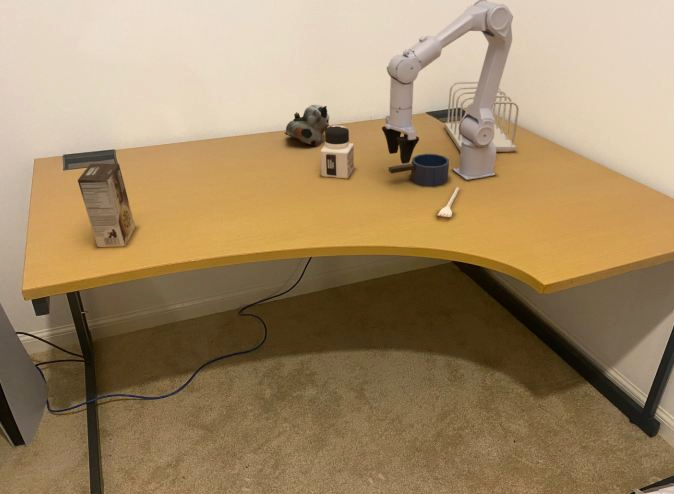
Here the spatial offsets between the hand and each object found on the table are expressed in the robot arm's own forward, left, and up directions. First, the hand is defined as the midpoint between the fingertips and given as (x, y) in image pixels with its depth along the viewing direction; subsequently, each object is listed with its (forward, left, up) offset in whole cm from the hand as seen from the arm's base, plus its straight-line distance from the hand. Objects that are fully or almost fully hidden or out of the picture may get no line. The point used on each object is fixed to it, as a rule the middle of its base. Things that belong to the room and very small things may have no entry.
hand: (399, 157), depth 152 cm
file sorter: (-40, -23, -8) cm, 46 cm away
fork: (-7, +17, -8) cm, 20 cm away
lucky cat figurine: (+12, -43, -8) cm, 45 cm away
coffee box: (+72, +3, -8) cm, 73 cm away
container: (+12, -14, -8) cm, 20 cm away
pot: (-6, 0, -8) cm, 10 cm away
